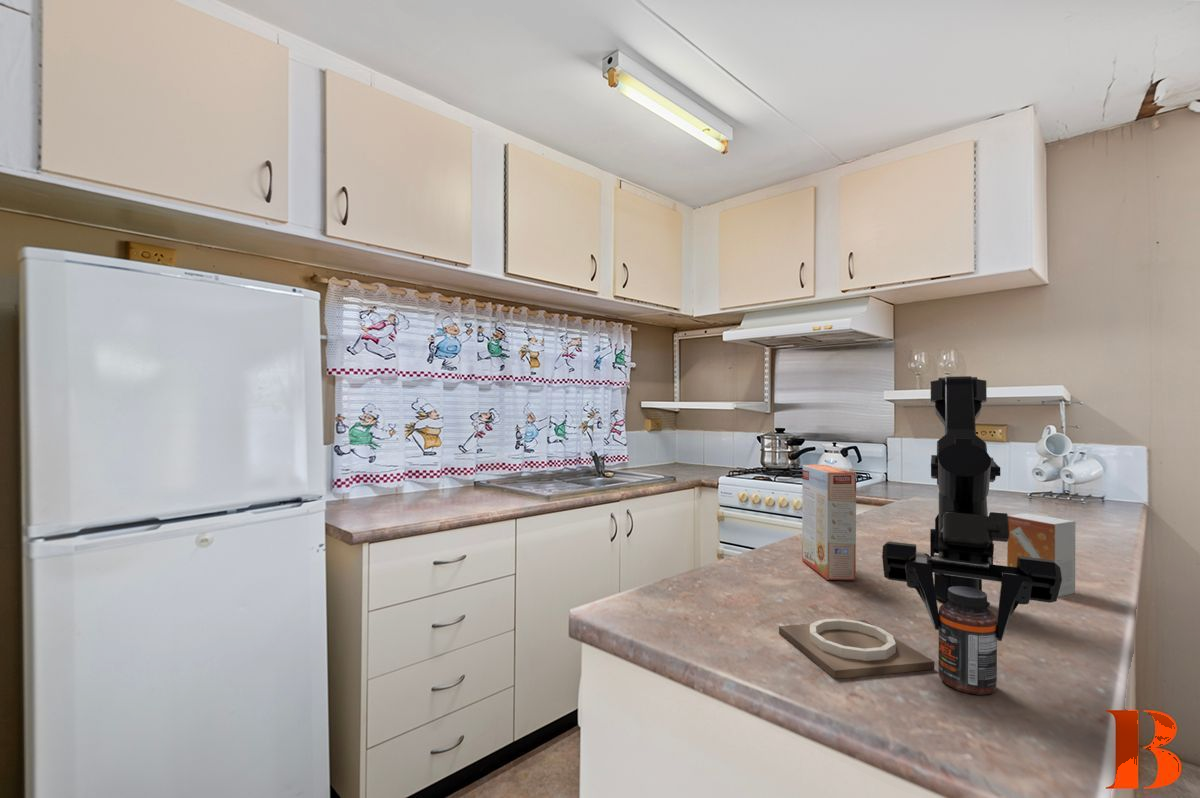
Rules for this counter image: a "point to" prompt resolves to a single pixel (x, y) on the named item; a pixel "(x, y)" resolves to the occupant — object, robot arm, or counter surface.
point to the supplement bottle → (967, 642)
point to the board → (846, 667)
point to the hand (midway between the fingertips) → (967, 633)
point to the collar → (852, 652)
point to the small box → (1044, 544)
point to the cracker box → (829, 521)
